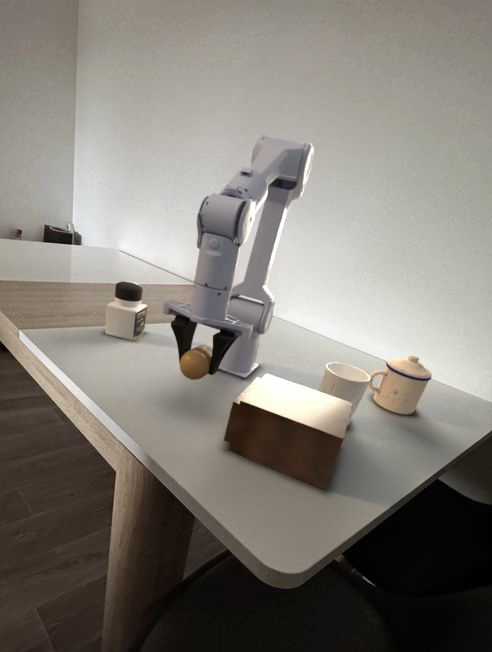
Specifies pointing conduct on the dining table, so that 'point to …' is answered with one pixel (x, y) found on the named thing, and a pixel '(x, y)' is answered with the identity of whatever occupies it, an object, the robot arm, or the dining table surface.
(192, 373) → the bread roll
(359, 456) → the dining table surface
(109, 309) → the medicine bottle
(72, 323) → the dining table surface
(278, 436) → the cabinet
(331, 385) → the white cup
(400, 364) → the teacup with lid
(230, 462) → the dining table surface
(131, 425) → the dining table surface
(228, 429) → the drawer
